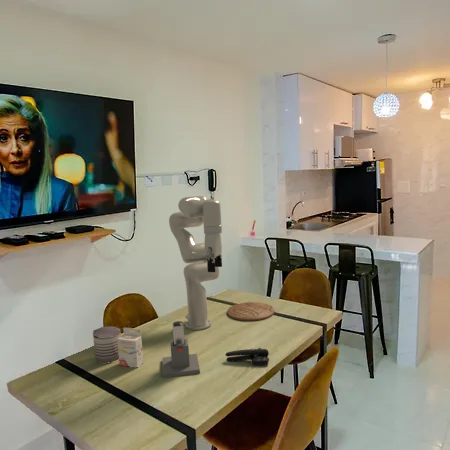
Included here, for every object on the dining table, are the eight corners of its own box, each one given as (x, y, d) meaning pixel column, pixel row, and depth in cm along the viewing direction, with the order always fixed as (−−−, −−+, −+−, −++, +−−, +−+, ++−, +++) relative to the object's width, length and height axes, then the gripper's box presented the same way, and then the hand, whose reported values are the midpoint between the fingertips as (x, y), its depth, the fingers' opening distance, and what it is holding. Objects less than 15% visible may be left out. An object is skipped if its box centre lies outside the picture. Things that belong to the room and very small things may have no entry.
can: (108, 350, 184) (105, 324, 182) (128, 354, 179) (126, 327, 177) (89, 361, 174) (86, 334, 172) (110, 366, 169) (107, 337, 167)
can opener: (270, 358, 169) (269, 345, 168) (268, 367, 162) (268, 353, 161) (227, 356, 172) (226, 344, 172) (224, 364, 166) (223, 351, 165)
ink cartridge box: (119, 366, 168) (116, 331, 166) (125, 360, 173) (122, 326, 171) (137, 368, 165) (134, 333, 163) (143, 362, 170) (141, 328, 168)
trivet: (250, 302, 240) (250, 299, 240) (284, 312, 222) (284, 308, 222) (218, 314, 223) (217, 310, 223) (251, 325, 205) (251, 322, 205)
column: (174, 361, 167) (172, 321, 164) (185, 360, 167) (182, 320, 165) (175, 366, 163) (172, 325, 160) (186, 364, 163) (183, 324, 161)
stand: (162, 360, 171) (160, 334, 169) (196, 357, 173) (195, 331, 172) (163, 377, 157) (161, 349, 156) (199, 373, 159) (198, 345, 158)
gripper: (210, 227, 185) (212, 264, 187) (197, 232, 169) (200, 274, 171) (226, 226, 183) (229, 264, 185) (215, 232, 167) (217, 274, 169)
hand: (215, 269), depth 178 cm, fingers open, 9 cm apart
